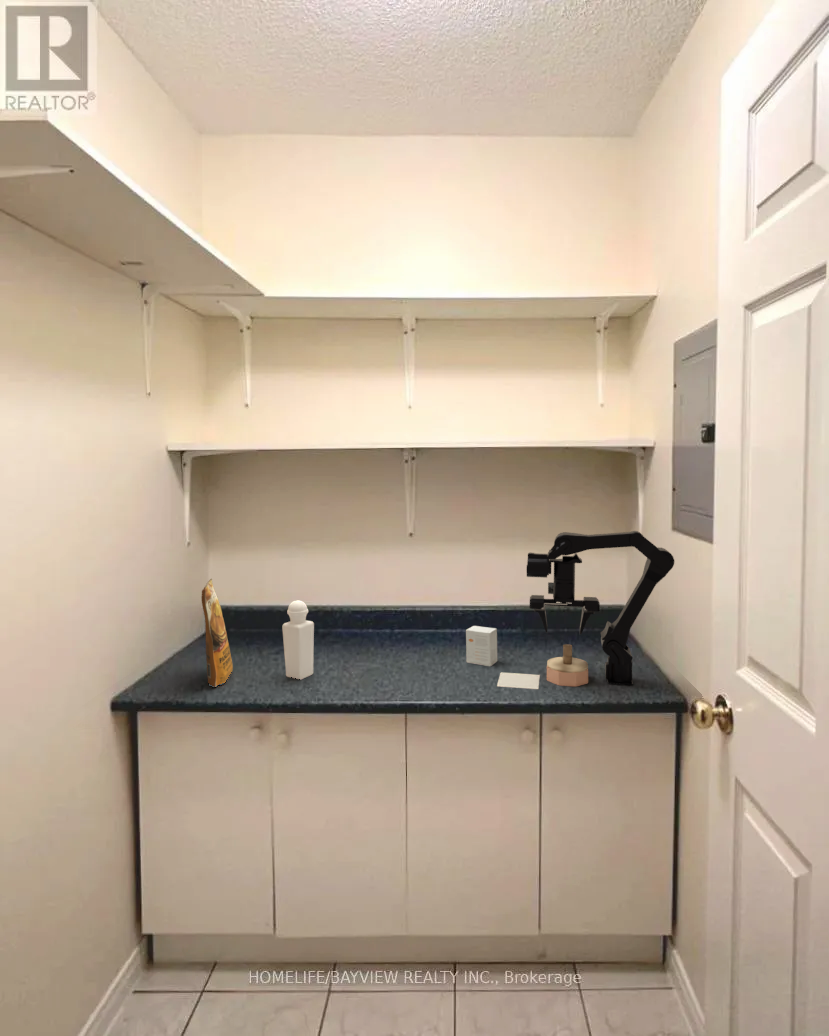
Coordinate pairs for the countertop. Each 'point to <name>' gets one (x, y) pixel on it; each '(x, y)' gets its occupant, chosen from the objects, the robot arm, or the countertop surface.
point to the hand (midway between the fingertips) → (563, 633)
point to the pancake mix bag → (215, 638)
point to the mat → (518, 680)
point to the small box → (481, 645)
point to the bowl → (567, 678)
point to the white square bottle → (298, 642)
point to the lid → (567, 662)
